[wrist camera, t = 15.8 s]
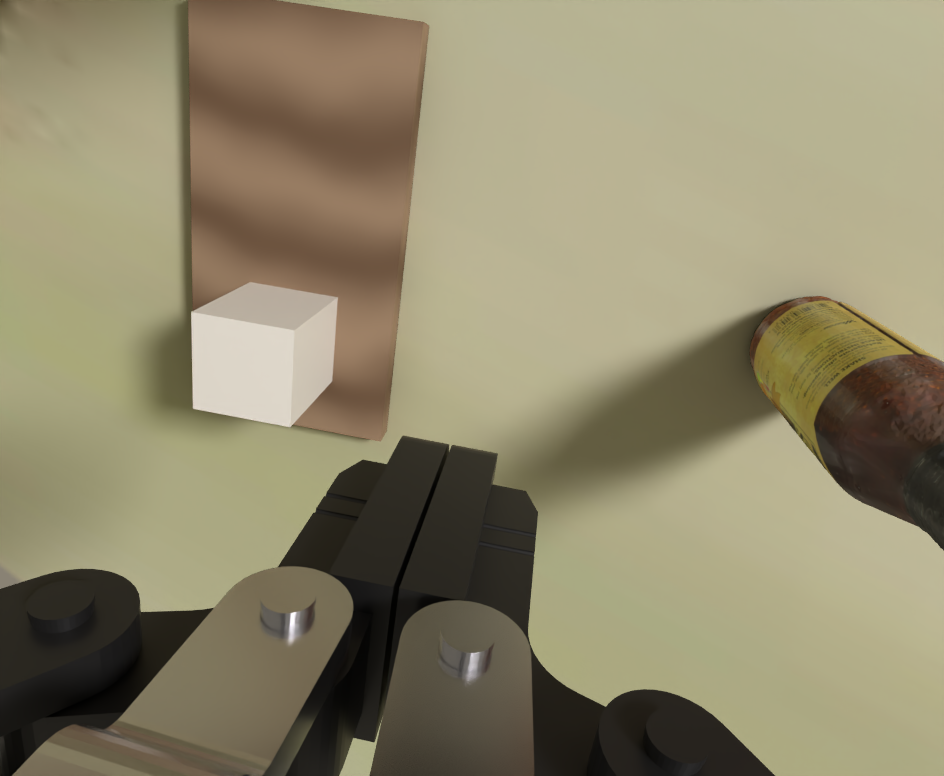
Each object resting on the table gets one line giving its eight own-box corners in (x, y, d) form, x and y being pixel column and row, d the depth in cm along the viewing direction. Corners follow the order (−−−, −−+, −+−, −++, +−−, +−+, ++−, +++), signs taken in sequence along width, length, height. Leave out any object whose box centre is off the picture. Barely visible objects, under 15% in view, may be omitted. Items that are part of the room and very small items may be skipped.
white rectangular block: (250, 282, 39) (191, 311, 33) (337, 297, 39) (294, 330, 33) (248, 365, 41) (193, 408, 35) (332, 381, 41) (290, 427, 35)
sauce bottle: (730, 386, 39) (869, 618, 21) (767, 280, 37) (960, 439, 19) (845, 410, 39) (1089, 668, 21) (890, 304, 37) (1211, 492, 18)
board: (202, -8, 35) (187, -13, 34) (429, 25, 35) (423, 21, 33) (205, 396, 44) (194, 405, 43) (386, 431, 43) (380, 441, 42)
